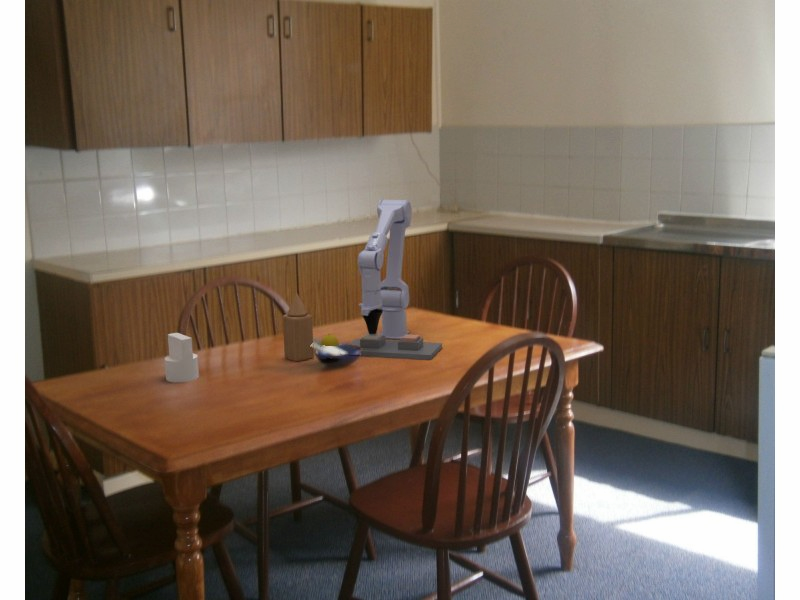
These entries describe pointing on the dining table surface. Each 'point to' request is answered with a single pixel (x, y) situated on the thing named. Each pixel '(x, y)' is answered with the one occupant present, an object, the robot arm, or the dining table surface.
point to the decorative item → (297, 332)
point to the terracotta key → (410, 338)
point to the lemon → (330, 340)
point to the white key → (373, 336)
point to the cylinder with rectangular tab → (181, 359)
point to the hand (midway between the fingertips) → (372, 333)
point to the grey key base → (398, 348)
